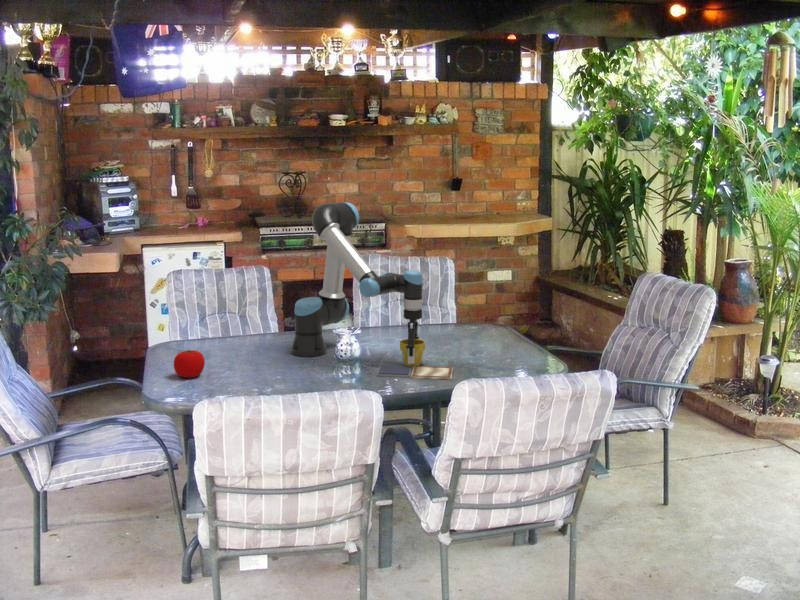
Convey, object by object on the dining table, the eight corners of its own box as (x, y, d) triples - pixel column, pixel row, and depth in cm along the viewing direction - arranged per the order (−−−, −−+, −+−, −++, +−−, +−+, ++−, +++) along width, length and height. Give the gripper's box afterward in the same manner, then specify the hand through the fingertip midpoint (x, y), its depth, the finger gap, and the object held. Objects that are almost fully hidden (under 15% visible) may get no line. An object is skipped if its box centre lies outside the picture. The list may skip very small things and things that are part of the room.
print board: (410, 378, 354) (410, 376, 354) (413, 367, 370) (413, 365, 370) (451, 380, 353) (451, 377, 353) (453, 369, 369) (453, 366, 368)
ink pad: (376, 376, 357) (376, 373, 357) (380, 367, 370) (380, 364, 370) (409, 377, 356) (409, 374, 356) (412, 368, 369) (412, 365, 368)
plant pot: (407, 369, 368) (407, 345, 366) (395, 363, 377) (395, 340, 375) (429, 366, 373) (429, 342, 371) (417, 360, 382) (417, 337, 380)
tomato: (177, 381, 348) (176, 355, 346) (171, 374, 358) (170, 348, 356) (208, 378, 352) (207, 352, 350) (202, 370, 363) (201, 345, 361)
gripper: (419, 315, 358) (419, 367, 362) (424, 303, 382) (423, 352, 386) (401, 314, 359) (400, 366, 363) (406, 302, 383) (406, 351, 387)
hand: (412, 359), depth 375 cm, fingers open, 13 cm apart
